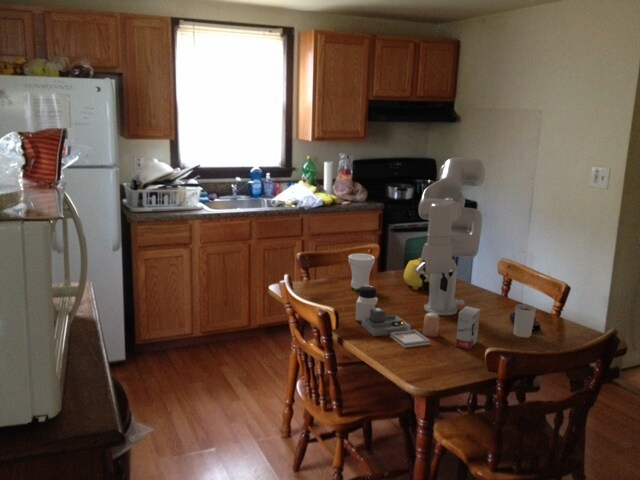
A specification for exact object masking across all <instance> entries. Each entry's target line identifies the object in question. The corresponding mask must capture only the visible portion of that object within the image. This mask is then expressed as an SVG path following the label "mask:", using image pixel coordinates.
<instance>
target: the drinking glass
mask: <svg viewBox="0 0 640 480" xmlns="http://www.w3.org/2000/svg"><path fill="white" fill-rule="evenodd" d="M536 309H537V308H536V307H535V306H533V305H530V304H525V303H524V304H523V303H522V304H516V305H515V309H514V310H515V311H514V312H515V323H514V326H513V335H515V336H517V337H520V338H530V336H531V337H532V333H533V331H532V328H533V322H534V317H535V318H536Z"/></svg>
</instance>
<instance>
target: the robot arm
mask: <svg viewBox="0 0 640 480" xmlns="http://www.w3.org/2000/svg"><path fill="white" fill-rule="evenodd" d="M485 169H486V168H485V165H484V163H483V161H481V160H480V159H478V158H469V157H468V158H467V157H451V158H448V159H447V160H446V161H444V163H443V165H441V167H440V169H439V173H438V174H439V175H438V176H439V177H438V178H439V180H438V181H435V182H434V183H432V184H430V185H428V186H427V187H426V188H425V189H424V190H423V191H422V194H421V198H420V201H419V203H418V215H419V217H420V218H421V219H423V220H425V221H426V220H427V221H428V226H427V238H426V242H424V244H423V248H422V251H421V255H420V258H421V261H420V265H419V266H418V267H417V268H416V270H415V272H416V273H417V274H418V276H419V277H420V278H421V280H422V287H421V291H422V292H424V293H425V294H429V295H428V302H427V303H425V304H424V306H423V309H424V310H425V312H427V313H436V314H438V316H454V315H455V314H457V313H458V308H457V307H458V306H464V305H465V304H466V303H465V300H464V299H458V298H455V295H456V294H455V293H456V287H457V286H456V284H457V273H458V267H457V263H456V261H455V260H454V259H453V257H456V258H465V259H474V258H476V256H477V255H478V253H479V249H480V243H481V235H482V226H483V215H482V212H481V211H480V209H477V208H473V207H465V203H466V197H465V195H464V194H463V192H462V190H463V186H466V187H467V186H468V187H481V186H482V185H483V183H484V181H485V179H486V170H485ZM421 271H424V272H423V274H422V273H421ZM430 275H431V282H430V290H429V282H428V280H429V278H430Z"/></svg>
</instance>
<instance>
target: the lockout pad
mask: <svg viewBox="0 0 640 480" xmlns="http://www.w3.org/2000/svg"><path fill="white" fill-rule="evenodd" d="M389 338H391V339H393V340H394V341H395V342H396V343H398V344H399V345H400V346H401V347H403V348H411V347H418V346H427V345H430V344H431V340H430V339H429V338H427V336H425V335H424V334H423V333H420V332H419V331H417V329H412V330H411V329H410V330H409V331H401V332H392V333H390V336H389Z"/></svg>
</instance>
